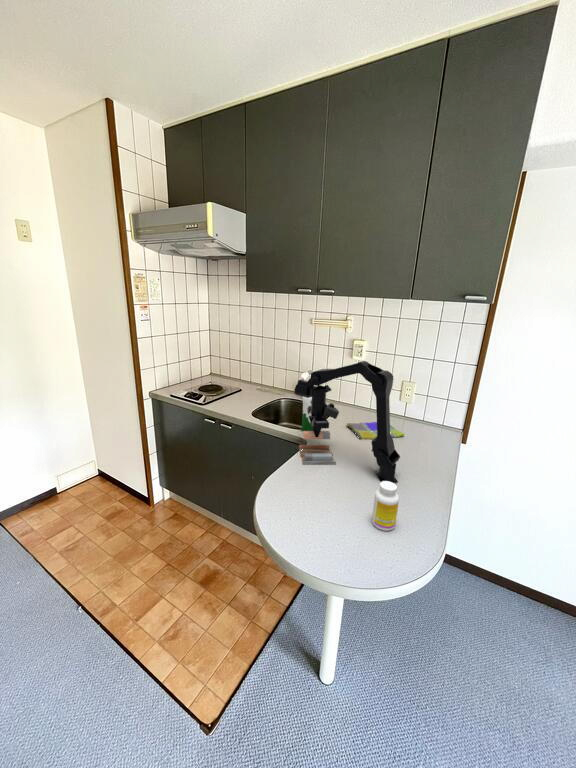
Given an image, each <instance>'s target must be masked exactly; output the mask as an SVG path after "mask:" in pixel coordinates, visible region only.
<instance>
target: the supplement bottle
mask: <svg viewBox="0 0 576 768" xmlns="http://www.w3.org/2000/svg"><path fill="white" fill-rule="evenodd" d="M397 490H398V486H397V485H396V484H395V483H392V482H389V481H382V482H380V483H379V488H378V489H376V491H375V493H374V498H373V499H374V500H373V507H372V515H371V523H372V524H373V525H374V527H376V528H377V529H378V530H380V531H385V532H388V531H392V530H394V529H395V527H396V522H397V515H398V509H399V501H400V497H399V495H398V493H397Z"/></svg>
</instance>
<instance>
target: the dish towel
mask: <svg viewBox="0 0 576 768" xmlns="http://www.w3.org/2000/svg"><path fill="white" fill-rule="evenodd" d="M345 425H347V427H348V428H349V429H350V428H351V429H352V430H353V431H352V430H351V429H350V430H351V431H352V432H353V433H354V432H355V433H356V435H357V436H358V437H359V439H358V440H361V439H370V440H373V439H374V438H376V437H377V421H373V422H358V423H356V422H353V423H351V422H348V423H345ZM371 431H373V432H371ZM390 432H391V434H390V435H391V437H392V439H395V438H396V437H397V438H400V437H404V436H405V433H404V432H402V431H399V430H398V429H395V427H394V426H393V425H391V424H390ZM356 435H355V436H356ZM357 436H356V437H357Z"/></svg>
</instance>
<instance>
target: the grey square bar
mask: <svg viewBox="0 0 576 768" xmlns="http://www.w3.org/2000/svg"><path fill="white" fill-rule="evenodd" d="M332 454H333V453H332ZM332 454H331V453H304V461H332V459H334V455H333V456H332Z"/></svg>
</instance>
